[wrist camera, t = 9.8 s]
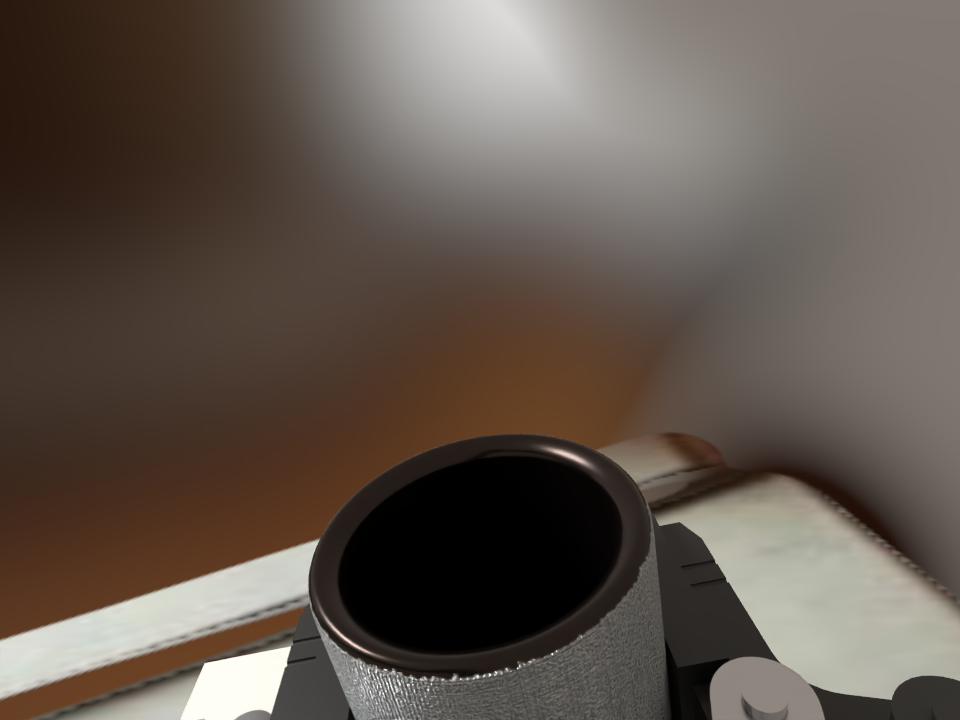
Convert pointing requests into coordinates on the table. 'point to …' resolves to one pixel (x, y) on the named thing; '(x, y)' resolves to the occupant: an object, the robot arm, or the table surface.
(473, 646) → the planter
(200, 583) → the table surface
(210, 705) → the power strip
